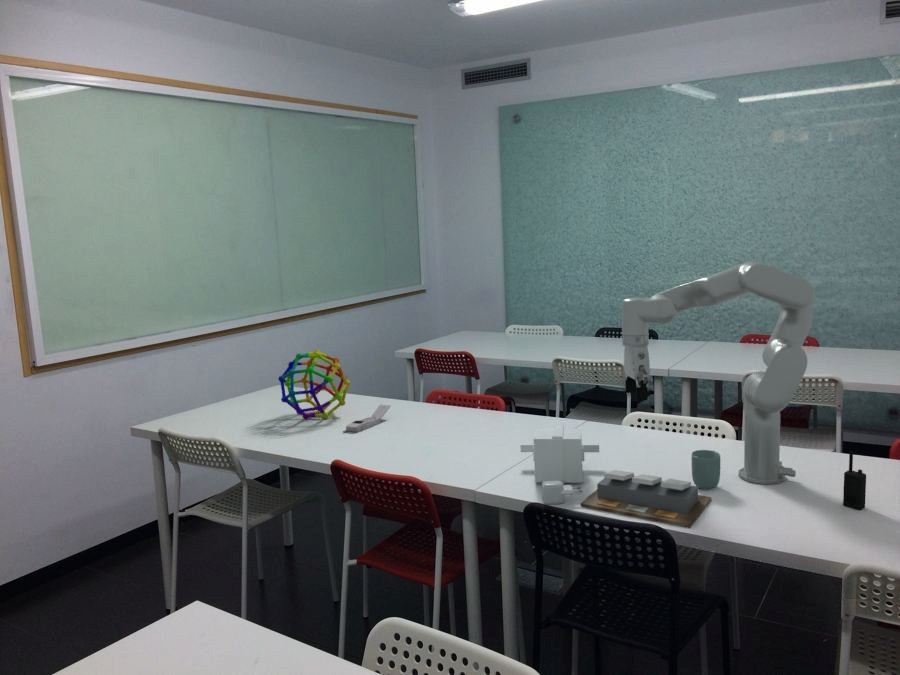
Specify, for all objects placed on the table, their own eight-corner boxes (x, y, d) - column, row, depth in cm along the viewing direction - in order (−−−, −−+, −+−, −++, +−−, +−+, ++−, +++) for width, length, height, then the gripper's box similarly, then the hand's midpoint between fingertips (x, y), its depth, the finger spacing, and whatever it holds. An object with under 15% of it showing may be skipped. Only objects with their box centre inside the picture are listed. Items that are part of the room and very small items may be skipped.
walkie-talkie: (866, 507, 186) (868, 452, 184) (859, 511, 184) (861, 455, 182) (847, 502, 190) (848, 448, 188) (840, 505, 188) (842, 451, 186)
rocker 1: (633, 477, 203) (634, 472, 203) (623, 480, 196) (623, 476, 196) (615, 474, 206) (615, 469, 206) (604, 477, 200) (604, 473, 200)
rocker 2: (661, 481, 198) (661, 477, 198) (651, 485, 192) (652, 480, 192) (642, 478, 202) (642, 474, 202) (631, 481, 195) (632, 477, 195)
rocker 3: (690, 486, 194) (690, 481, 194) (681, 490, 187) (682, 485, 187) (670, 482, 197) (670, 478, 197) (660, 486, 190) (661, 482, 190)
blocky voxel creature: (599, 461, 238) (601, 486, 211) (524, 460, 243) (516, 485, 215) (597, 417, 237) (599, 437, 209) (522, 418, 241) (515, 437, 214)
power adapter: (580, 497, 204) (580, 477, 203) (583, 504, 199) (583, 484, 198) (541, 499, 204) (541, 479, 203) (543, 506, 199) (543, 486, 198)
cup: (688, 482, 210) (688, 450, 209) (716, 482, 209) (716, 449, 208) (695, 492, 203) (695, 458, 201) (723, 492, 202) (723, 458, 200)
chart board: (711, 500, 196) (711, 496, 196) (690, 528, 180) (689, 523, 180) (608, 482, 213) (608, 478, 213) (580, 506, 197) (580, 502, 197)
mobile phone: (392, 405, 298) (351, 420, 278) (393, 418, 299) (353, 435, 278) (380, 404, 301) (340, 418, 281) (382, 417, 302) (341, 433, 282)
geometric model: (369, 357, 309) (312, 336, 320) (330, 369, 282) (270, 345, 293) (355, 421, 316) (300, 398, 327) (316, 438, 289) (258, 413, 300)
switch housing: (698, 500, 194) (698, 484, 194) (687, 513, 186) (687, 496, 186) (611, 485, 209) (610, 470, 208) (597, 497, 201) (597, 481, 200)
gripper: (658, 343, 202) (659, 402, 204) (638, 334, 219) (638, 388, 221) (632, 345, 201) (633, 404, 204) (614, 336, 218) (615, 390, 221)
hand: (636, 396), depth 213 cm, fingers open, 9 cm apart
